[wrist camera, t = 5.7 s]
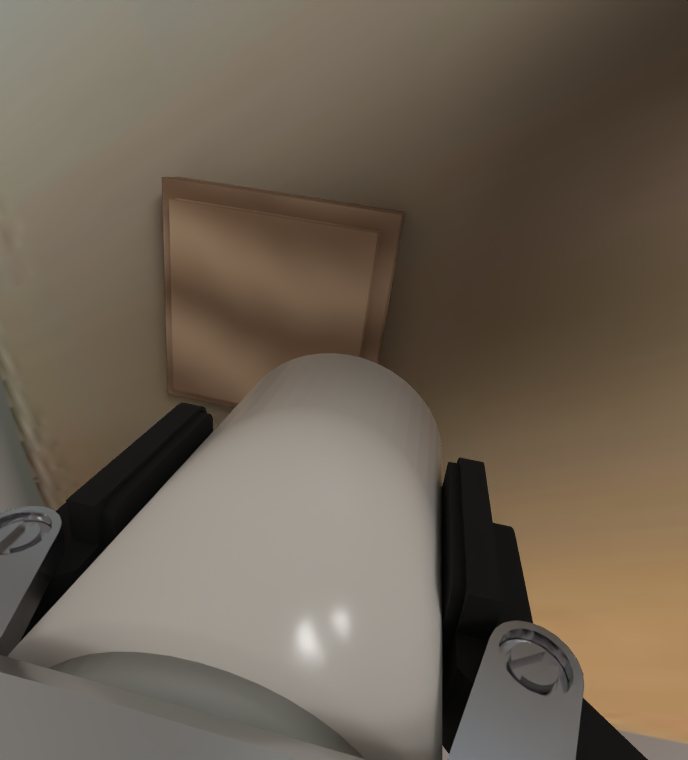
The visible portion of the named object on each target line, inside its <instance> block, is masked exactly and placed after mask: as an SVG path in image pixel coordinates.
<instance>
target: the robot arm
mask: <svg viewBox="0 0 688 760" xmlns="http://www.w3.org/2000/svg"><path fill="white" fill-rule="evenodd" d="M212 432H213V418H212V415H211V414H208V413H207V411H206V408H205V407H202V406H197V405H192V404H187V403H180V404H179V405H177V406H176V407H175V408H174V409H173V410H171V411H170V412H169V413H168V414H167V415H166V416H164V417H163V418H162V419H161V420H160V421H159V422H157V423H156V424H155V425H154V426H153V427H151V428H150V429H149V430H148V431H147V432H146V433H144V434H143V435H142V436H141V437H140V438H139V439H137V440H136V441H135V442H134V443H133V444H131V445H130V446H129V447H128V448H127V449H126V450H124V451H123V452H122V453H121V454H120V455H118V456H117V457H116V458H115V459H114V460H113V461H111V462H110V463H109V464H108V465H107V466H106V467H104V468H103V469H102V470H101V471H100V472H98V473H97V474H96V475H95V476H94V477H93V478H91V479H90V480H89V481H88V482H87V483H86V484H84V485H83V486H82V487H81V488H80V489H78V490H77V491H76V492H75V493H74V494H73V495H71V496H70V497H69V498H68V499H67V500H66V503H65V504H64V505H62V506H61V507H60V508H59V509H58V510H57V511H54V510H52V509H49V508H46V507H39V506H28V507H19V508H15V509H11V510H7V511H4V512H2V513H0V760H366V759H362V758H359V757H355V756H352V755H348V754H345V753H342V752H338V751H335V750H331V749H328V748H324V747H321V746H318V745H314V744H311V743H307V742H304V741H300V740H297V739H294V738H290V737H287V736H283V735H280V734H277V733H273V732H270V731H266V730H263V729H259V728H256V727H252V726H249V725H245V724H242V723H239V722H235V721H232V720H228V719H225V718H221V717H218V716H214V715H211V714H207V713H204V712H200V711H197V710H193V709H190V708H186V707H183V706H179V705H176V704H172V703H169V702H165V701H162V700H158V699H155V698H151V697H148V696H144V695H141V694H137V693H134V692H130V691H127V690H123V689H120V688H116V687H113V686H109V685H105V684H102V683H98V682H95V681H91V680H88V679H84V678H81V677H77V676H74V675H70V674H66V673H63V672H59V671H56V670H52V669H48V668H45V667H41V666H38V665H34V664H31V663H27V662H23V661H20V660H16V659H13V658H9V657H7V656H8V655H9V654H10V653H11V651H12V650H13V649H14V648H15V647H16V646H17V645H18V644H19V643H20V642H21V641H22V639H23V638H24V637H25V636H26V635H27V634H28V633H29V632H30V631H31V630H32V629H33V627H34V626H35V625H36V624H37V623H38V622H39V621H40V620H41V619H42V618H43V617H44V615H45V614H46V613H47V612H48V611H49V610H50V609H51V608H52V607H53V606H54V605H55V603H56V602H57V601H58V600H59V599H60V598H61V597H62V596H63V595H64V594H65V593H66V591H67V590H68V589H69V588H70V587H71V586H72V585H73V584H74V583H75V582H76V581H77V579H78V578H79V577H80V576H81V575H82V574H83V573H84V572H85V571H86V570H87V569H88V567H89V566H90V565H91V564H92V563H93V562H94V561H95V560H96V559H97V558H98V557H99V555H100V554H101V553H102V552H103V551H104V550H105V549H106V548H107V547H108V546H109V545H110V543H111V542H112V541H113V540H114V539H115V538H116V537H117V536H118V535H119V534H120V533H121V531H122V530H123V529H124V528H125V527H126V526H127V525H128V524H129V523H130V522H131V521H132V519H133V518H134V517H135V516H136V515H137V514H138V513H139V512H140V511H141V510H142V509H143V507H144V506H145V505H146V504H147V503H148V502H149V501H150V500H151V499H152V498H153V497H154V495H155V494H156V493H157V492H158V491H159V490H160V489H161V488H162V487H163V486H164V485H165V483H166V482H167V481H168V480H169V479H170V478H171V477H172V476H173V475H174V474H175V473H176V471H177V470H178V469H179V468H180V467H181V466H182V465H183V464H184V463H185V462H186V461H187V459H188V458H189V457H190V456H191V455H192V454H193V453H194V452H195V451H196V450H197V449H198V447H199V446H200V445H201V444H202V443H203V442H204V441H205V440H206V439H207V438H208V437H209V435H210V434H211V433H212ZM583 692H584V678H583V672H582V669H581V667H580V664H579V662H578V660H577V658H576V657H575V655H574V654H573V653H572V651H571V650H570V649H569V647H568V646H567V645H566V644H565V643H564V642H563V641H561V640H560V639H559V638H558V637H557V636H556V635H554V634H553V633H551V632H550V631H548V630H546V629H545V628H543V627H541V626H538V625H535V624H533V621H532V616H531V611H530V606H529V601H528V596H527V591H526V586H525V581H524V576H523V571H522V566H521V561H520V556H519V551H518V547H517V542H516V537H515V533H514V529H513V528H512V527H510V526H505V525H500V524H496V523H493V522H492V515H491V508H490V501H489V494H488V487H487V480H486V473H485V466H484V463H483V462H479V461H474V460H469V459H464V458H459V459H458V461H457V463H452V462H449V463H448V465H447V469H446V473H445V478H444V482H443V486H442V745H443V747H444V748H445V749H446V751H447V752H448V753H449V756H448V760H648V759H646V758H645V757H644V756H643V755H642V754H641V753H640V752H639V751H638V750H637V749H636V748H635V747H633V745H632V744H631V743H630V742H629V741H628V740H627V739H625V737H623V736H622V735H621V734H620V733H619V732H618V731H617V730H616V729H615V728H614V727H613V726H612V725H611V724H610V723H609V722H608V721H607V720H606V719H605V718H604V717H603V716H602V715H600V714H599V713H598V712H597V711H596V710H595V709H594V708H593V707H592V706H591V705H590V704H589V703H588V702H587V701H586V700H585V699H584V698H583Z"/></svg>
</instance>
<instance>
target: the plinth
mask: <svg viewBox="0 0 688 760" xmlns="http://www.w3.org/2000/svg"><path fill="white" fill-rule="evenodd" d="M162 204H163V239H164V274H165V310H166V345H167V380H168V393H169V394H174V395H178V396H183V397H187V398H192V399H196V400H201V401H205V402H210V403H215V404H219V405H224V406H228V407H233V408H235V407H236V406H237V405H238V404H239V403H240V402H241V400H242V399H243V398H244V397H245V396H246V395H247V394H248V393H249V392H250V391H251V390H252V388H253V387H254V386H255V385H256V384H257V383H258V382H259V381H260V380H261V379H262V378H263V377H264V376H265V375H267V374H268V373H269V372H270V371H272V370H273V369H275V368H276V367H278V366H279V365H281V364H283V363H286V362H288V361H290V360H292V359H295V358H299V357H302V356H306V355H313V354H320V353H337V354H346V355H351V356H356V357H360V358H364V359H366V360H369V361H372V362H374V363H377V364H379V358H380V353H381V347H382V341H383V335H384V330H385V324H386V318H387V313H388V307H389V301H390V295H391V290H392V284H393V278H394V273H395V267H396V261H397V255H398V250H399V244H400V238H401V233H402V227H403V221H404V215H405V212H399V211H393V210H386V209H380V208H374V207H367V206H361V205H355V204H348V203H342V202H335V201H329V200H323V199H316V198H310V197H304V196H297V195H291V194H284V193H278V192H272V191H265V190H259V189H252V188H246V187H240V186H233V185H227V184H221V183H214V182H208V181H201V180H195V179H189V178H182V177H162Z"/></svg>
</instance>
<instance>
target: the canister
mask: <svg viewBox="0 0 688 760" xmlns="http://www.w3.org/2000/svg"><path fill="white" fill-rule="evenodd" d="M7 657H9V658H13V659H16V660H20V661H23V662H27V663H31V664H34V665H38V666H41V667H45V668H48V669H52V670H56V671H59V672H63V673H66V674H70V675H74V676H77V677H81V678H84V679H88V680H91V681H95V682H98V683H102V684H105V685H109V686H113V687H116V688H120V689H123V690H127V691H130V692H134V693H137V694H141V695H144V696H148V697H151V698H155V699H158V700H162V701H165V702H169V703H172V704H176V705H179V706H183V707H186V708H190V709H193V710H197V711H200V712H204V713H207V714H211V715H214V716H218V717H221V718H225V719H228V720H232V721H235V722H239V723H242V724H245V725H249V726H252V727H256V728H259V729H263V730H266V731H270V732H273V733H277V734H280V735H283V736H287V737H290V738H294V739H297V740H300V741H304V742H307V743H311V744H314V745H318V746H321V747H324V748H328V749H331V750H335V751H338V752H342V753H345V754H348V755H352V756H355V757H359V758H362V759H366V760H442V444H441V437H440V433H439V430H438V427H437V424H436V421H435V419H434V417H433V415H432V413H431V411H430V409H429V408H428V406H427V405H426V403H425V402H424V400H423V399H422V398H421V397H420V395H419V394H418V393H417V392H416V391H415V390H414V388H412V387H411V386H410V385H409V384H408V383H407V382H406V381H405V380H403V379H402V378H401V377H399V376H398V375H396V374H395V373H393V372H392V371H391V370H389V369H387V368H385V367H383V366H381V365H379V364H377V363H374V362H372V361H369V360H366V359H364V358H360V357H356V356H351V355H346V354H337V353H320V354H313V355H306V356H302V357H299V358H295V359H292V360H290V361H288V362H286V363H283V364H281V365H279V366H278V367H276V368H275V369H273V370H272V371H270V372H269V373H268V374H267V375H265V376H264V377H263V378H262V379H261V380H260V381H259V382H258V383H257V384H256V385H255V386H254V387H253V388H252V390H251V391H250V392H249V393H248V394H247V395H246V396H245V397H244V398H243V399H242V400H241V402H240V403H239V404H238V405H237V406H236V407H235V408H234V409H233V410H232V411H231V413H230V414H229V415H228V416H227V417H226V418H225V419H224V420H223V421H222V422H221V423H220V425H219V426H218V427H217V428H216V429H215V430H214V431H213V432H212V433H211V434H210V435H209V437H208V438H207V439H206V440H205V441H204V442H203V443H202V444H201V445H200V446H199V447H198V449H197V450H196V451H195V452H194V453H193V454H192V455H191V456H190V457H189V458H188V459H187V461H186V462H185V463H184V464H183V465H182V466H181V467H180V468H179V469H178V470H177V471H176V473H175V474H174V475H173V476H172V477H171V478H170V479H169V480H168V481H167V482H166V483H165V485H164V486H163V487H162V488H161V489H160V490H159V491H158V492H157V493H156V494H155V495H154V497H153V498H152V499H151V500H150V501H149V502H148V503H147V504H146V505H145V506H144V507H143V509H142V510H141V511H140V512H139V513H138V514H137V515H136V516H135V517H134V518H133V519H132V521H131V522H130V523H129V524H128V525H127V526H126V527H125V528H124V529H123V530H122V531H121V533H120V534H119V535H118V536H117V537H116V538H115V539H114V540H113V541H112V542H111V543H110V545H109V546H108V547H107V548H106V549H105V550H104V551H103V552H102V553H101V554H100V555H99V557H98V558H97V559H96V560H95V561H94V562H93V563H92V564H91V565H90V566H89V567H88V569H87V570H86V571H85V572H84V573H83V574H82V575H81V576H80V577H79V578H78V579H77V581H76V582H75V583H74V584H73V585H72V586H71V587H70V588H69V589H68V590H67V591H66V593H65V594H64V595H63V596H62V597H61V598H60V599H59V600H58V601H57V602H56V603H55V605H54V606H53V607H52V608H51V609H50V610H49V611H48V612H47V613H46V614H45V615H44V617H43V618H42V619H41V620H40V621H39V622H38V623H37V624H36V625H35V626H34V627H33V629H32V630H31V631H30V632H29V633H28V634H27V635H26V636H25V637H24V638H23V639H22V641H21V642H20V643H19V644H18V645H17V646H16V647H15V648H14V649H13V650H12V651H11V653H10V654H9V655H8V656H7Z"/></svg>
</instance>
